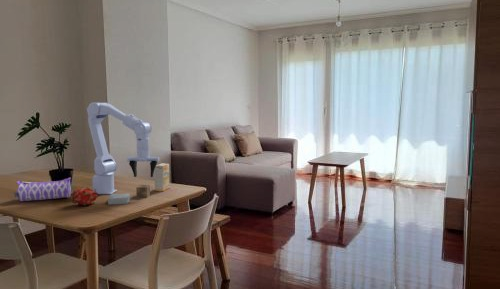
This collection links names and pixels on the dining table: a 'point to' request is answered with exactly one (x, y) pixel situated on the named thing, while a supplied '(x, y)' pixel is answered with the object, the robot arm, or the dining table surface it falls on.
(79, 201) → the dragon fruit
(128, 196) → the grey flat square block
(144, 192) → the walnut cube
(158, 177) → the supplement box
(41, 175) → the dining table surface
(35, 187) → the pencil case
